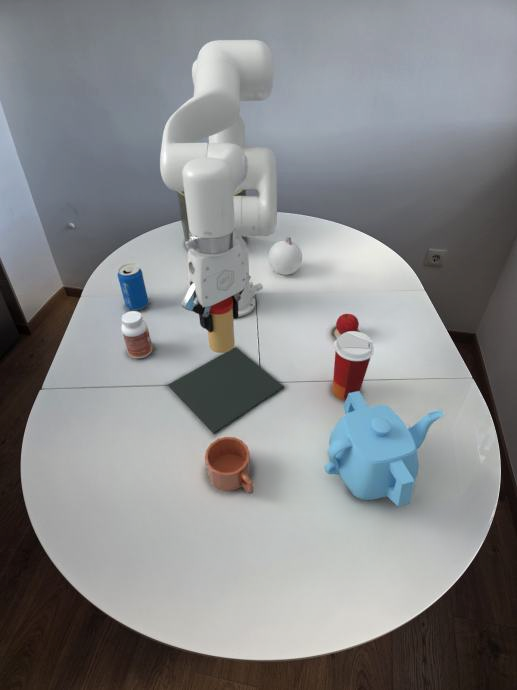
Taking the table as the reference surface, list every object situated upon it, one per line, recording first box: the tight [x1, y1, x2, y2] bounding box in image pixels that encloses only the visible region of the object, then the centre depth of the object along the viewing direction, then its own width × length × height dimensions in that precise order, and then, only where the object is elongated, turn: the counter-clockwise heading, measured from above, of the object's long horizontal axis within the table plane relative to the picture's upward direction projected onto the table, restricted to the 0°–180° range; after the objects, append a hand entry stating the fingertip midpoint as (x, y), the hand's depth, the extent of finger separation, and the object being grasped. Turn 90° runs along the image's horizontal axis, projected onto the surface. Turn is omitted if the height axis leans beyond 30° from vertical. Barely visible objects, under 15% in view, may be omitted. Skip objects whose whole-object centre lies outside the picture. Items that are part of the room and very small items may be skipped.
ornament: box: [267, 236, 303, 276], centre depth 132 cm, size 10×10×12 cm
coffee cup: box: [332, 331, 375, 401], centre depth 94 cm, size 8×8×15 cm
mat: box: [167, 346, 285, 435], centre depth 100 cm, size 20×18×1 cm
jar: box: [207, 297, 236, 354], centre depth 84 cm, size 5×5×11 cm
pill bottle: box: [120, 310, 153, 359], centre depth 105 cm, size 6×6×11 cm
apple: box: [329, 313, 362, 341], centre depth 111 cm, size 8×8×6 cm
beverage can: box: [117, 263, 149, 311], centre depth 120 cm, size 6×6×12 cm
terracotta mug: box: [204, 436, 254, 495], centre depth 81 cm, size 11×8×6 cm
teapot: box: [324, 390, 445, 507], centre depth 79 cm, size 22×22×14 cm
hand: (220, 321), depth 84 cm, fingers closed on jar, 5 cm apart
